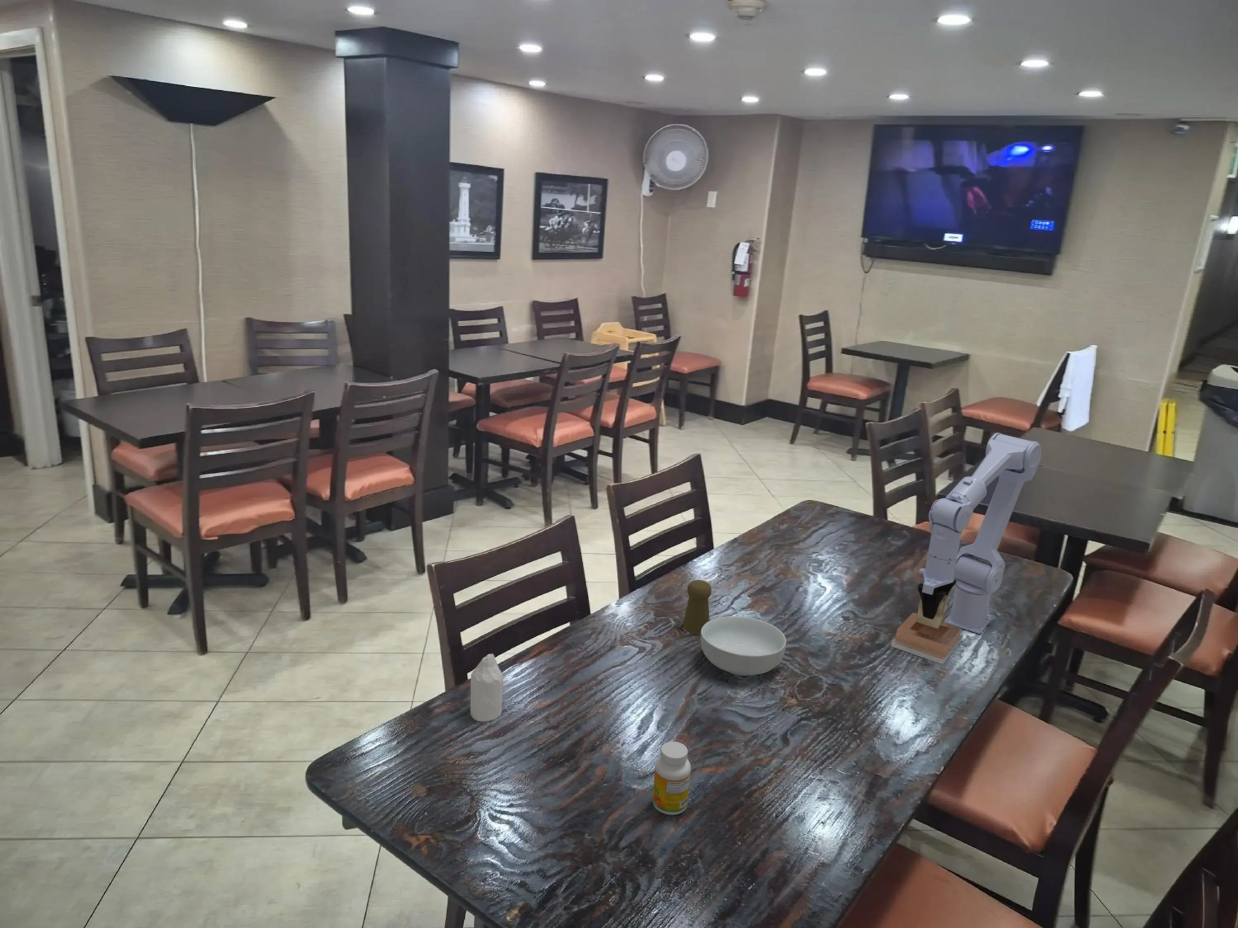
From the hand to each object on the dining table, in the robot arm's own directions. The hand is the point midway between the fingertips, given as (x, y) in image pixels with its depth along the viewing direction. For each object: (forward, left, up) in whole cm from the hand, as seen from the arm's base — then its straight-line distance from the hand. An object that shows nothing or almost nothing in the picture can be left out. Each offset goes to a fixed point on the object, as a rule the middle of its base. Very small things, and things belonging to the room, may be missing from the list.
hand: (932, 613), depth 174 cm
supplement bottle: (+79, -14, -7) cm, 81 cm away
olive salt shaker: (+29, -41, -7) cm, 51 cm away
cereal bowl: (+36, -26, -7) cm, 45 cm away
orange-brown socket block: (0, 0, -7) cm, 7 cm away
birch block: (0, 0, -2) cm, 2 cm away
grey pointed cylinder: (+81, -52, -7) cm, 97 cm away
